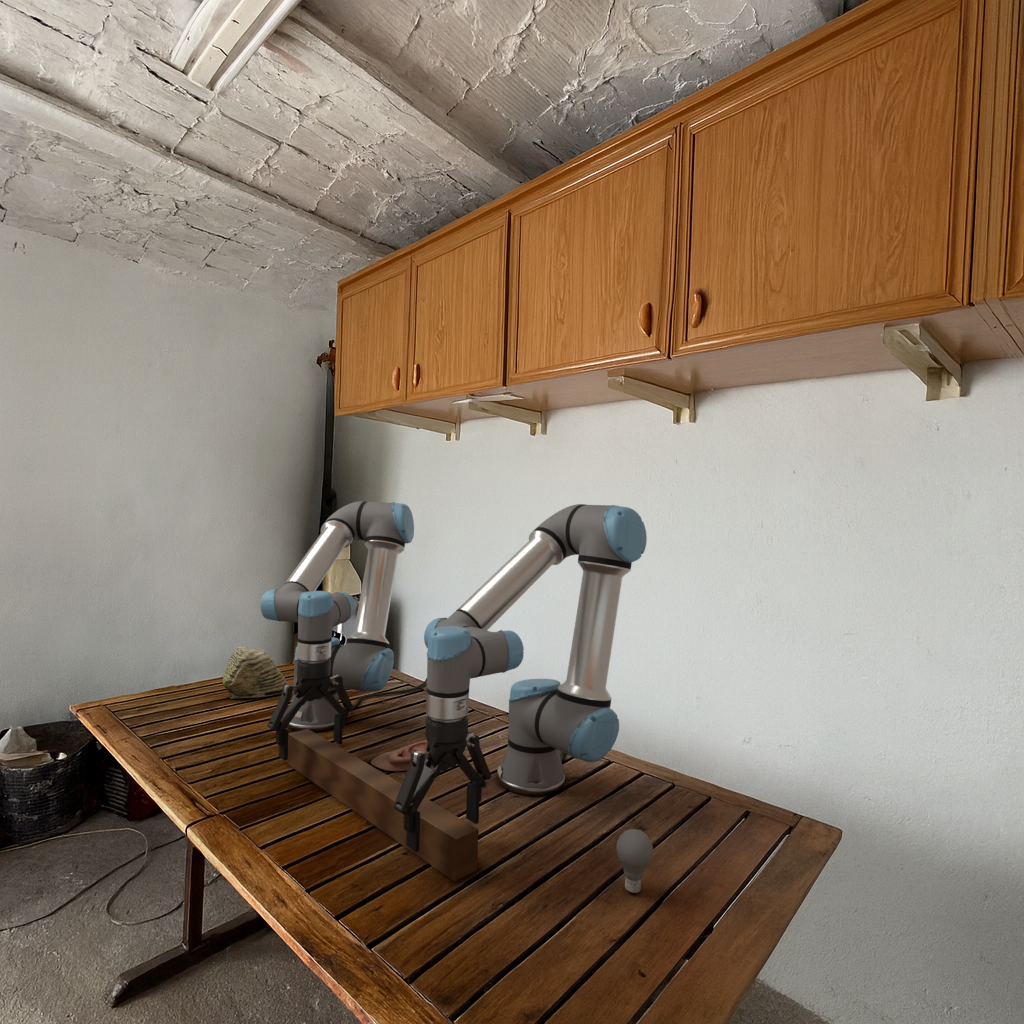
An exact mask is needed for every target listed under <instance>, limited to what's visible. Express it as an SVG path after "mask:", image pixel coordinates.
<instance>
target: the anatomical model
mask: <svg viewBox="0 0 1024 1024" xmlns="http://www.w3.org/2000/svg"><path fill="white" fill-rule="evenodd" d="M426 747H427V740H423V741H417V742H415V743H412V744H408V745H405V746H403V747H399V748H398V749H394V750H391V751H387V752H384V753H381V754H380V755H377V756H376V757H374V758H373V759H371V761H370V765H371V766H372V767H374V768H378V769H380V770H383V771H387V772H400V771H401V772H402V771H407V770H408V767H409V765H410V758H411V752H412V751H413V750H417V751H424V750H425V749H426ZM426 760H427V759H426Z"/></svg>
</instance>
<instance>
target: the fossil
mask: <svg viewBox="0 0 1024 1024" xmlns="http://www.w3.org/2000/svg"><path fill="white" fill-rule="evenodd" d="M222 676H223V677H222V685H223V687H224V688H225V690H226V691H228V693H229V698H230V699H250V698H264V697H271V696H275V695H281V694H282V689H283V685H284V684H287V680H286V678H285V676H284V674H283V673H282V672H281V669H279V668H278V667H277V665H276V663H275V662H274V660H273V659H272V658H271V657H270V656H269V655H268V654H267V653H266V652H265V650H264V649H263V648H260V647H258V648H251V647H247V646H246V647H245V646H238V647H237V648H236V649H235V650H233V651H232V653H231V656H230V657H229V659H228V660H227V663H226V666H225V668H224V671H223V675H222Z"/></svg>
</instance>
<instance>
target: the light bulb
mask: <svg viewBox="0 0 1024 1024" xmlns="http://www.w3.org/2000/svg"><path fill="white" fill-rule="evenodd" d="M615 849H616V854H617V857H618V859H619V861H620V863H621V865H622V867H623V873H624V874H623V875H624V876H625V878H624V888H625V890H627V891H628V892H630V893H634V894H635V893H639V892H640V891H641V889H642V887H641V886H642V879H643V877H644V875H645V871H646V868H647V867H648V866H649V864H650V863H651V861H652V859H653V855H654V847H653V843H652V841H651V838H649V836H648V835H647V834H646V833H645V832H643V831H642V830H641V829H636V828H629V829H627V830H625V831H623V832H622V833H621V834H620V835H619V837H618V839H617V841H616V847H615Z"/></svg>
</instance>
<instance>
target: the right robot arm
mask: <svg viewBox="0 0 1024 1024" xmlns="http://www.w3.org/2000/svg"><path fill="white" fill-rule="evenodd" d="M647 537H648V536H647V530H646V526H645V523H644V521H643V519H642V517H641V516H640V514H639V513H638V512H637V511H636V510H635V509H633V508H631V507H627V506H621V505H616V504H615V505H614V504H610V505H608V504H603V505H602V504H587V503H586V504H584V503H578V504H573V505H569V506H566V507H564V508H562V509H560V510H559V511H557V512H555V513H553V514H551V516H549V517H547V518H546V519H544V521H543V522H541V523H540V524H539V525H538V526H537V527H535V528H534V529H533V530H532V531H531V532H530V534H529V535H528V541H527V542H526V543H525V544H524V545H523V546H522V547H521V548H520V549H518V550H517V552H516V553H515V554H513V556H511V558H509V559H508V560H507V561H506V562H505V563H504V564H503V565H501V567H500V568H499V569H498V570H497V571H496V572H495V573H494V574H493V575H491V577H490V578H488V580H486V581H485V582H484V583H483V584H482V585H481V586H480V587H479V588H478V589H477V590H475V592H474V593H472V595H470V597H469V598H467V600H466V601H464V602H463V604H461V606H459V607H457V609H456V610H455V611H454V612H453V613H451V615H449V616H448V617H437V618H434V619H432V620H431V621H429V623H428V624H427V626H425V629H424V633H423V642H424V645H425V647H426V649H427V651H426V659H427V660H426V678H427V683H426V697H425V699H426V700H425V715H427V716H426V718H425V729H424V731H425V733H424V735H425V739H426V741H427V747H426V749H425V750H424V751H417V750H413V751H412V752H411V758H410V765H409V767H408V770H406V772H405V775H404V777H403V780H402V783H401V784H402V785H401V788H400V790H399V793H398V796H397V798H396V801H395V803H394V809H396V810H397V811H399V812H400V813H402V814H404V830H406V831H407V833H406V846H408V847H409V848H410V849H412V850H413V851H415V852H417V851H419V841H420V812H418V811H417V809H418V807H419V806H420V804H421V802H422V800H423V799H424V797H425V798H426V795H427V794H428V791H429V789H430V788H431V786H432V784H433V782H434V781H435V779H436V778H438V777H439V776H440V775H441V773H442V772H445V771H447V770H449V769H454V768H456V767H457V766H458V768H459V769H460V770H461V771H462V773H464V775H465V776H466V778H468V780H469V781H470V782H468V783H467V784H466V805H465V811H466V812H465V819H466V820H468V821H469V822H471V823H473V824H475V825H477V824H479V822H480V803H481V802H482V798H483V795H482V794H483V793H482V792H483V789H484V788H486V787H487V781H489V780H490V779H491V778H492V775H491V772H490V768H489V766H488V763H487V761H486V758H485V756H484V753H483V751H482V748H481V744H480V736H479V735H478V734H475V733H473V732H471V731H469V717H468V715H469V709H470V707H469V704H470V702H469V701H470V685H471V679H475V678H476V679H477V678H481V677H485V676H489V675H490V676H491V675H496V674H504V673H506V672H508V671H512V670H515V669H517V668H518V667H519V666H520V665H521V664H522V662H523V659H524V654H525V653H524V651H525V649H524V648H525V647H524V644H523V640H522V639H521V637H520V635H518V633H516V632H515V631H513V630H510V629H509V630H503V629H500V630H497V631H490V630H489V629H491V628H492V627H493V625H495V623H496V622H497V621H498V620H499V619H500V618H502V616H503V615H504V614H505V613H507V611H508V610H509V609H510V608H511V607H512V606H513V605H514V604H515V603H516V602H517V601H518V600H519V599H520V598H521V597H522V596H523V595H524V594H525V593H526V592H528V590H529V589H530V588H531V587H532V586H533V585H534V584H535V583H536V582H537V581H538V580H539V579H540V578H541V577H542V576H543V575H544V574H545V573H546V572H547V571H548V570H549V569H550V568H551V567H552V566H557V565H560V564H561V563H562V562H563V561H564V560H565V559H567V558H568V557H571V556H575V555H576V556H577V564H578V566H579V567H580V568H581V569H582V575H581V583H580V590H579V596H578V602H577V609H576V615H575V621H574V627H573V628H574V629H573V633H572V634H573V635H572V641H571V648H570V654H569V660H568V666H567V667H568V668H567V672H566V679H565V680H564V681H563V683H561V682H560V681H559V680H557V679H553V678H528V679H522V680H519V681H516V682H515V683H513V684H512V686H511V687H510V693H509V698H508V722H507V723H508V726H507V729H508V730H507V746H506V750H505V753H504V755H503V758H502V760H501V763H500V764H499V765H498V767H497V774H498V776H497V777H498V778H497V779H498V783H499V785H500V786H501V787H503V788H504V789H505V790H508V791H510V792H512V793H515V794H519V795H522V796H523V795H524V796H535V797H536V796H538V797H539V796H548V795H551V794H555V793H556V792H559V791H561V790H562V789H563V788H564V786H565V782H566V773H565V770H564V768H563V763H562V762H563V761H564V758H565V755H569V756H570V757H571V758H572V759H576V760H580V761H584V762H586V763H594V762H598V761H600V760H601V759H603V758H605V756H607V754H608V753H609V752H610V751H611V750H612V748H613V747H614V745H615V743H616V741H617V739H618V736H619V731H620V720H619V718H618V714H617V713H616V712H615V711H614V710H613V709H612V708H611V706H612V705H611V704H612V699H613V697H612V695H611V693H609V690H607V682H608V677H609V669H610V663H611V657H612V656H611V655H612V649H613V644H614V643H613V642H614V635H615V629H616V623H617V616H618V610H619V602H620V596H621V590H622V583H623V578H624V577H625V576H626V575H627V574H629V573H630V572H631V570H632V564H633V563H634V562H636V561H638V560H639V559H641V558H642V555H643V554H644V553H645V551H646V548H647V540H648V539H647ZM466 749H467V751H468V754H469V756H470V758H471V761H472V763H473V766H474V767H473V766H472V764H471V763H470V761H469V759H468V758H467V757H466V755H465V754H464V752H465V750H466ZM426 759H427V760H426ZM431 766H432V768H431ZM411 803H412V805H411Z"/></svg>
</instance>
